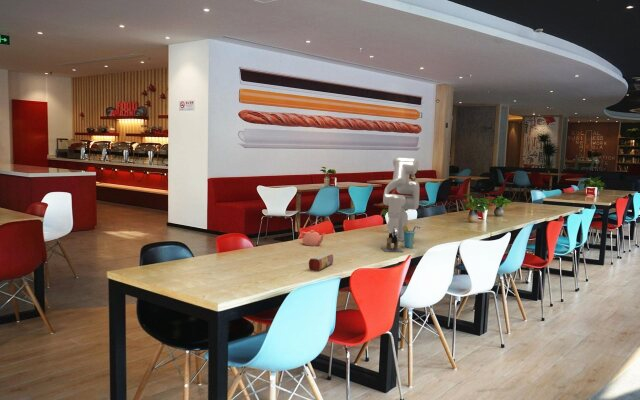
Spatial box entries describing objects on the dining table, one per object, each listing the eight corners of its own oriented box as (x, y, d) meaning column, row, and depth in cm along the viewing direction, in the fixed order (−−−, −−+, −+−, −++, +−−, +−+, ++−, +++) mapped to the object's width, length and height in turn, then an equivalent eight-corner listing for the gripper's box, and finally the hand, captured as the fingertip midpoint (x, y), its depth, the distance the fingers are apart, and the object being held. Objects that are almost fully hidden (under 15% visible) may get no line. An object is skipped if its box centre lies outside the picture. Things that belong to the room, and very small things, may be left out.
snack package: (322, 263, 312) (323, 251, 312) (334, 264, 310) (334, 252, 309) (307, 270, 293) (308, 257, 292) (319, 272, 290) (320, 259, 289)
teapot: (305, 241, 375) (306, 227, 374) (329, 245, 366) (330, 230, 365) (296, 244, 365) (296, 229, 364) (320, 247, 356) (321, 233, 355)
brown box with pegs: (386, 248, 362) (387, 237, 362) (395, 248, 363) (396, 237, 362) (388, 250, 357) (389, 239, 356) (397, 250, 357) (398, 239, 356)
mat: (381, 248, 365) (381, 247, 365) (399, 248, 366) (399, 247, 366) (384, 251, 353) (384, 251, 353) (403, 252, 354) (403, 251, 354)
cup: (421, 248, 370) (423, 225, 369) (415, 249, 364) (417, 226, 363) (403, 245, 379) (404, 223, 378) (397, 246, 373) (398, 224, 372)
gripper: (385, 213, 366) (384, 239, 367) (391, 216, 349) (389, 244, 350) (397, 213, 366) (395, 239, 368) (403, 217, 349) (401, 244, 351)
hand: (392, 241), depth 359 cm, fingers open, 9 cm apart
